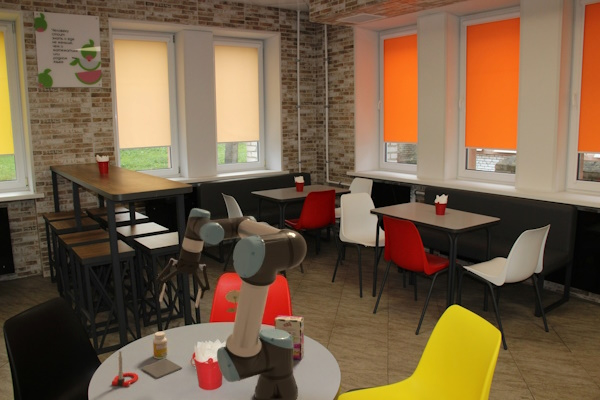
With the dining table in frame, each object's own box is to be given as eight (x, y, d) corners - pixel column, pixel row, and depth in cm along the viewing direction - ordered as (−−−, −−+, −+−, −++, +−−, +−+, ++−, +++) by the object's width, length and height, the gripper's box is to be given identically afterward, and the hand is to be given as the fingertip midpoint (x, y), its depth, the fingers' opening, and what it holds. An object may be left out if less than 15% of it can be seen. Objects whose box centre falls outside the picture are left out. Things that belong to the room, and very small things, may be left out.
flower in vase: (259, 343, 234) (259, 287, 230) (250, 354, 223) (250, 296, 219) (231, 339, 237) (230, 284, 233) (221, 350, 226) (219, 293, 222)
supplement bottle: (155, 353, 224) (154, 330, 222) (168, 352, 224) (167, 330, 223) (152, 359, 219) (151, 336, 217) (166, 358, 219) (165, 336, 218)
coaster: (181, 368, 211) (181, 367, 211) (157, 378, 203) (156, 377, 203) (165, 359, 218) (165, 358, 218) (141, 369, 210) (141, 367, 210)
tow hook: (121, 374, 207) (109, 385, 198) (120, 342, 205) (108, 351, 196) (142, 376, 206) (130, 387, 197) (141, 343, 204) (130, 353, 195)
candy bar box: (304, 355, 223) (304, 316, 220) (301, 360, 218) (301, 321, 215) (277, 352, 226) (277, 314, 223) (274, 357, 221) (274, 318, 218)
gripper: (222, 253, 212) (209, 305, 213) (157, 241, 204) (144, 295, 205) (225, 258, 205) (212, 311, 206) (158, 245, 197) (145, 301, 198)
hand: (178, 303), depth 206 cm, fingers open, 13 cm apart
